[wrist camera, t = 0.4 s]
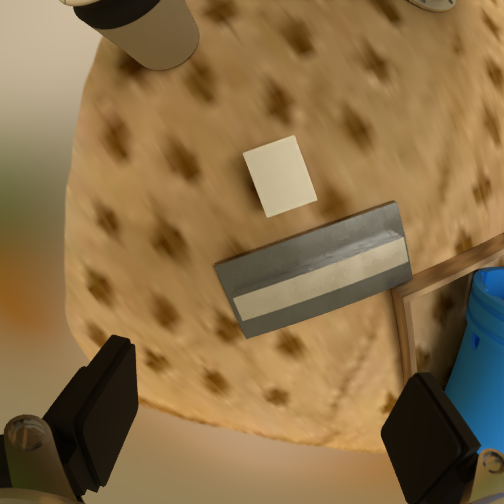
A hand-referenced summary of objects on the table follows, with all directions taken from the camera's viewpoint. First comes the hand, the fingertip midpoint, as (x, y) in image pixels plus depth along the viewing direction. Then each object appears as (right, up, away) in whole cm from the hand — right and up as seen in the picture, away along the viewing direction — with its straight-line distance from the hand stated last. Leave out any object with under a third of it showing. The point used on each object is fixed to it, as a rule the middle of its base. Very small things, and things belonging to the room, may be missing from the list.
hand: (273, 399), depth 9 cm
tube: (+35, -9, +30) cm, 47 cm away
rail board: (+7, +3, +26) cm, 27 cm away
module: (+2, +13, +24) cm, 27 cm away
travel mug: (-11, +29, +19) cm, 37 cm away
